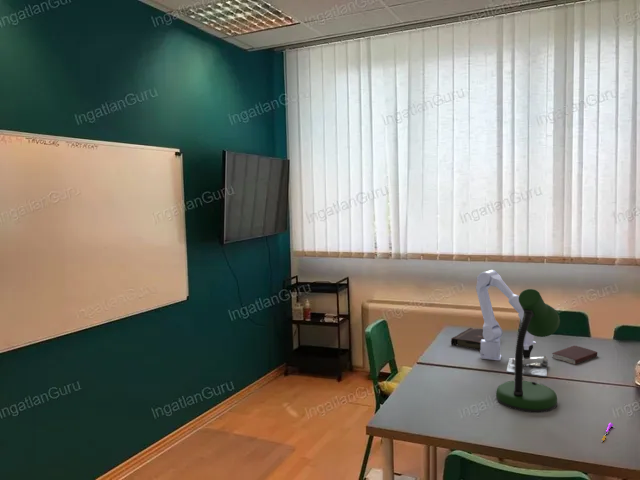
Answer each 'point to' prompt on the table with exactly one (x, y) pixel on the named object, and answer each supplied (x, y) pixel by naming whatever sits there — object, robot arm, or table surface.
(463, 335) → the diary
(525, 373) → the server tray
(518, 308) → the robot arm
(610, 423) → the purple handled tool
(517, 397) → the desk lamp
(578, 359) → the book
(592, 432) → the table surface
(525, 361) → the cable arm
